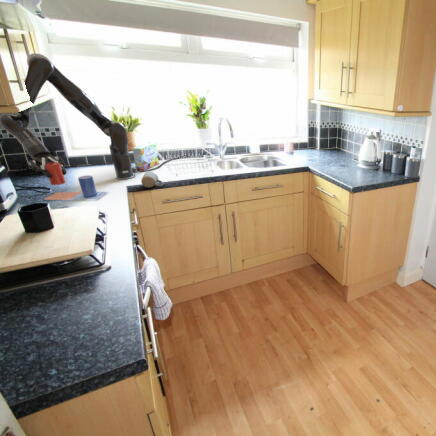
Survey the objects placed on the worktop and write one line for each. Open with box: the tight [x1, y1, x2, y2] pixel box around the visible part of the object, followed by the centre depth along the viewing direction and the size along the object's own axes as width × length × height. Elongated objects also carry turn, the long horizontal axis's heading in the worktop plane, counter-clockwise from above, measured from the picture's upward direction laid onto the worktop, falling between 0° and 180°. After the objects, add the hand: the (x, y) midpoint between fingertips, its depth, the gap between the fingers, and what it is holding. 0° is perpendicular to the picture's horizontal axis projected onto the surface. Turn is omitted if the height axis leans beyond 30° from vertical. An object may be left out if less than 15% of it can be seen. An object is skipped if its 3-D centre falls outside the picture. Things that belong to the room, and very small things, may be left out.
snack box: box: [131, 142, 160, 171], centre depth 218 cm, size 21×6×15 cm, turn 1°
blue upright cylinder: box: [78, 175, 98, 198], centre depth 163 cm, size 6×6×10 cm
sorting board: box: [43, 191, 107, 201], centre depth 165 cm, size 11×24×1 cm, turn 99°
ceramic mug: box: [140, 171, 164, 189], centre depth 183 cm, size 11×8×8 cm
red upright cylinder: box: [44, 161, 67, 186], centre depth 158 cm, size 6×6×10 cm
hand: (57, 175), depth 158 cm, fingers closed on red upright cylinder, 6 cm apart
